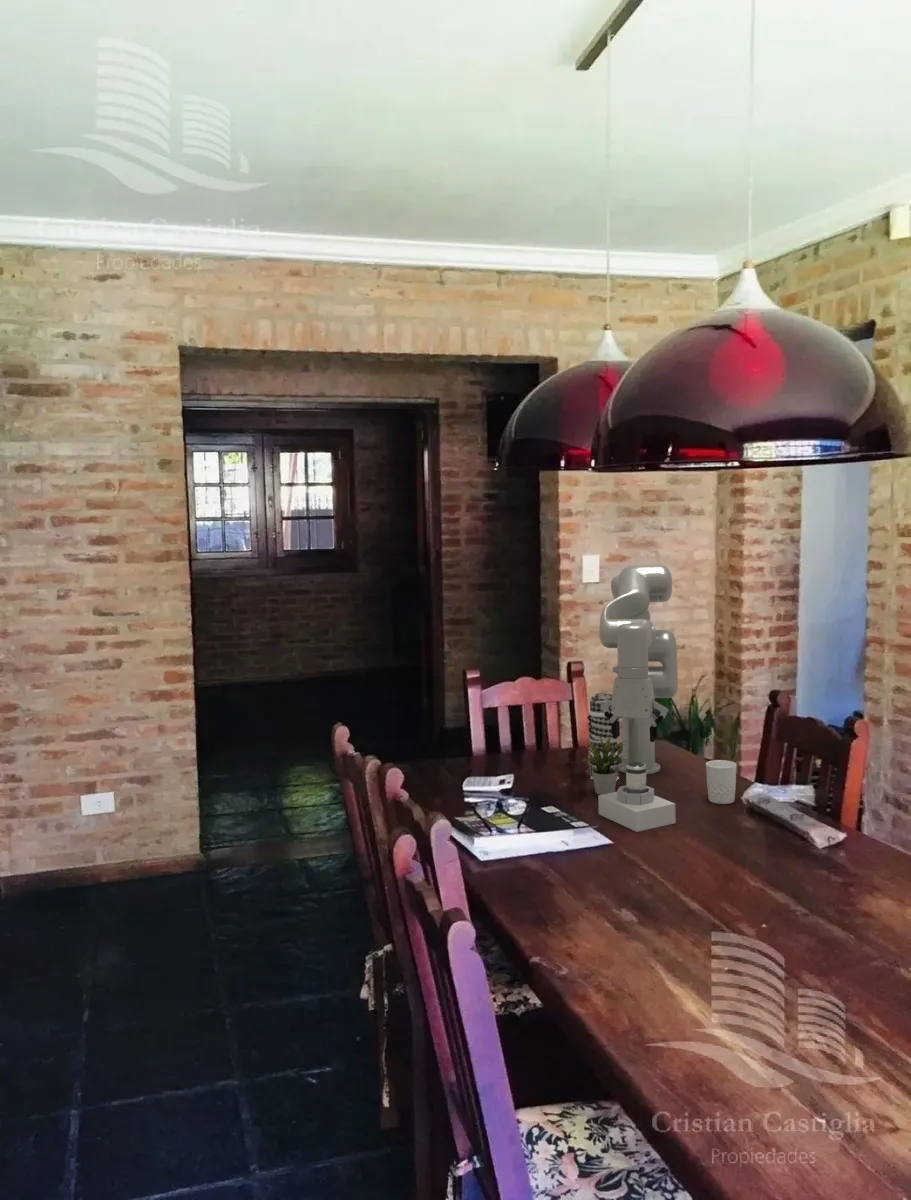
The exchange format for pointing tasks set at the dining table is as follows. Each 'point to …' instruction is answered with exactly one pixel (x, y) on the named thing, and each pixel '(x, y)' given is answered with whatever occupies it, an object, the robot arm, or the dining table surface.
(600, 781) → the house plant
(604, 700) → the decorative candle
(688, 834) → the dining table surface
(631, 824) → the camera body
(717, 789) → the white cup
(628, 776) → the lens
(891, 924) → the dining table surface
